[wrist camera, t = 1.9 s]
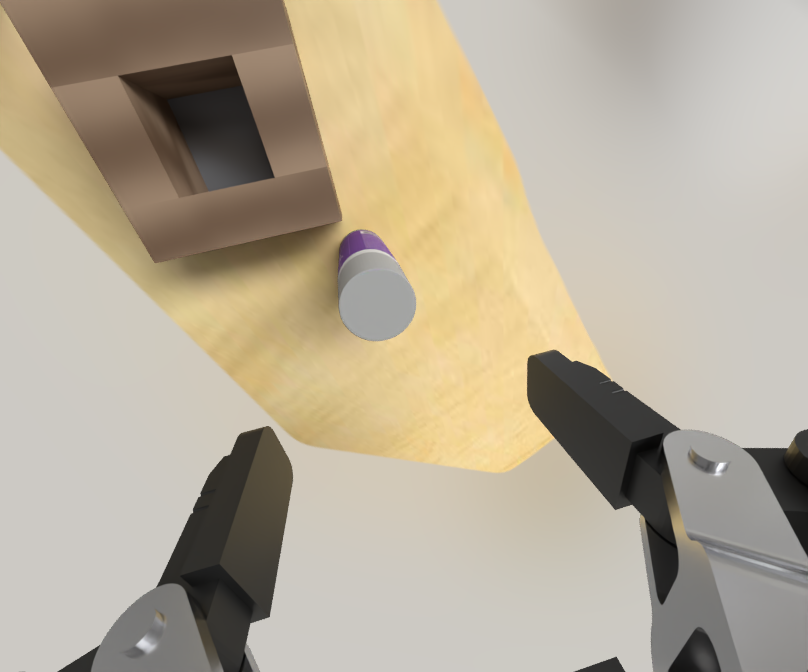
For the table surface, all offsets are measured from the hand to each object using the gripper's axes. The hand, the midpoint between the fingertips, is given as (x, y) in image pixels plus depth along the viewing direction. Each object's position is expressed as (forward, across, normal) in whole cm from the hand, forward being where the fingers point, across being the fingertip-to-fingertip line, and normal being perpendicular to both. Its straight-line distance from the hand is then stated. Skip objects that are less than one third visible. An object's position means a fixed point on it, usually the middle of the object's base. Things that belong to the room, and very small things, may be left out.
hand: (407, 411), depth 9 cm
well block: (+24, +8, -11) cm, 28 cm away
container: (+24, 0, 0) cm, 24 cm away
